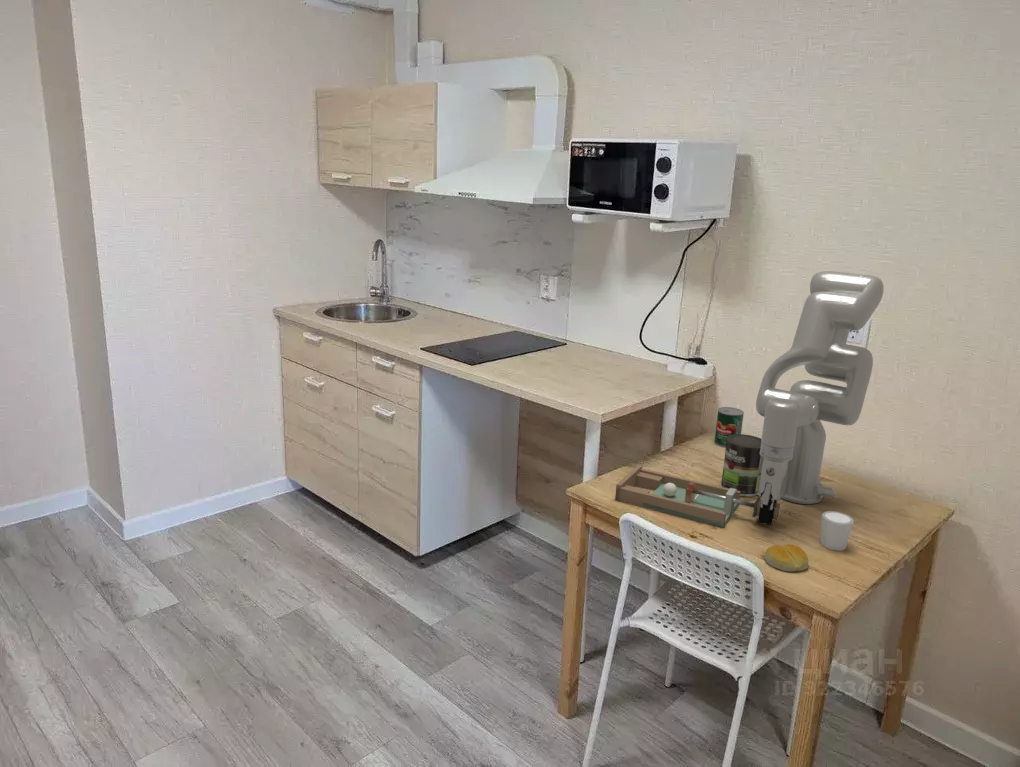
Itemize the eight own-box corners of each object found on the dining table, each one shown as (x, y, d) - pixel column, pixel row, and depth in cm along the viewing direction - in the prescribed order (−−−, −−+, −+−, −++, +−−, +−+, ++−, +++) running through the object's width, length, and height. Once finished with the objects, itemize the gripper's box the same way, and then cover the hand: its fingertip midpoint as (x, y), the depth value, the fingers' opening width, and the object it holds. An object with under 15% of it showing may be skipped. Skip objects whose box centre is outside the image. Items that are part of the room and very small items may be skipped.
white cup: (812, 537, 176) (816, 510, 174) (839, 537, 176) (844, 510, 174) (825, 551, 169) (830, 524, 167) (854, 551, 170) (859, 524, 168)
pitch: (738, 504, 192) (741, 481, 191) (723, 527, 179) (726, 504, 177) (636, 479, 205) (638, 458, 204) (615, 500, 192) (617, 477, 190)
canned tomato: (739, 441, 239) (743, 408, 235) (740, 449, 231) (744, 416, 228) (714, 438, 241) (718, 405, 237) (713, 446, 233) (717, 413, 230)
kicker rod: (778, 517, 182) (781, 500, 181) (775, 524, 178) (777, 507, 177) (689, 495, 193) (691, 479, 191) (684, 502, 189) (685, 486, 187)
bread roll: (758, 555, 167) (760, 539, 166) (795, 554, 168) (797, 538, 167) (775, 574, 159) (777, 557, 158) (814, 572, 160) (817, 556, 159)
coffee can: (742, 500, 195) (748, 450, 191) (712, 485, 203) (718, 437, 199) (768, 492, 200) (775, 443, 196) (738, 478, 209) (744, 431, 205)
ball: (677, 495, 194) (679, 482, 193) (673, 499, 191) (675, 487, 190) (665, 491, 195) (666, 479, 194) (660, 496, 192) (661, 484, 191)
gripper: (786, 464, 168) (775, 537, 173) (798, 443, 181) (788, 511, 187) (753, 457, 171) (743, 529, 176) (767, 437, 185) (757, 504, 190)
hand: (766, 519), depth 181 cm, fingers closed on kicker rod, 3 cm apart
